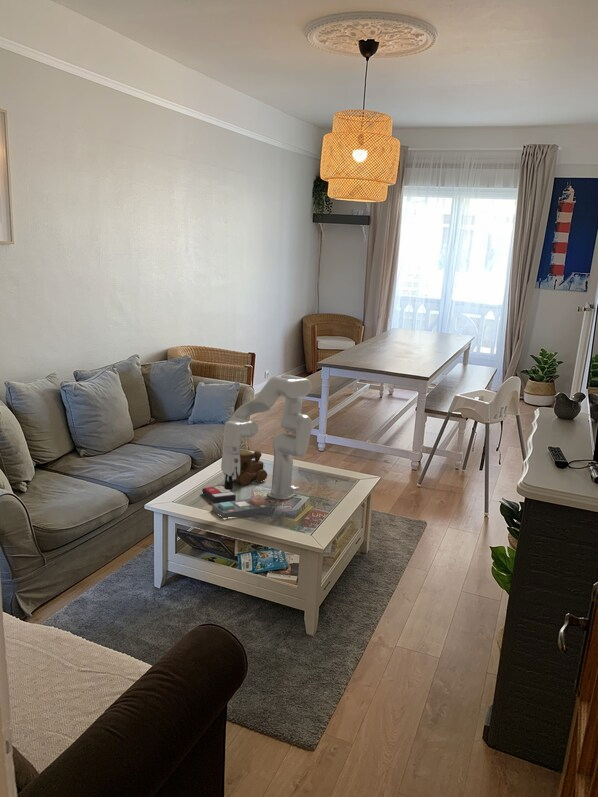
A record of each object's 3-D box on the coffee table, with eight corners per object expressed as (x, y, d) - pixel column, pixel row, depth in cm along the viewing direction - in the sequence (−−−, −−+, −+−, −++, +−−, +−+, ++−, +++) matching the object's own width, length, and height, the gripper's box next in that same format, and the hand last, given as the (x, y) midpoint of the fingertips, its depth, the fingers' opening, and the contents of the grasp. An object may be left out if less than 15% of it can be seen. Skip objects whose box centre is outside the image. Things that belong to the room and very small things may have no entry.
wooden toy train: (237, 487, 312) (239, 455, 309) (225, 480, 320) (227, 449, 317) (269, 481, 325) (271, 451, 322) (256, 475, 333) (258, 445, 330)
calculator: (222, 484, 304) (236, 493, 291) (222, 493, 304) (235, 502, 292) (202, 487, 298) (214, 496, 285) (201, 495, 299) (214, 505, 286)
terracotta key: (259, 502, 288) (259, 497, 287) (264, 506, 284) (265, 500, 283) (250, 503, 285) (250, 498, 285) (255, 507, 281) (255, 502, 281)
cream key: (244, 506, 284) (244, 501, 283) (249, 510, 280) (249, 505, 279) (234, 507, 281) (234, 502, 280) (239, 511, 277) (240, 506, 276)
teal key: (228, 506, 279) (229, 501, 279) (233, 510, 275) (234, 505, 275) (218, 508, 276) (219, 502, 276) (223, 512, 272) (224, 506, 272)
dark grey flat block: (258, 503, 292) (258, 497, 291) (271, 512, 282) (271, 505, 282) (212, 510, 279) (212, 503, 278) (223, 519, 269) (224, 512, 268)
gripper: (247, 453, 267) (243, 493, 270) (231, 444, 279) (228, 483, 282) (231, 454, 263) (228, 495, 266) (216, 445, 275) (213, 484, 278)
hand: (228, 488), depth 274 cm, fingers closed
